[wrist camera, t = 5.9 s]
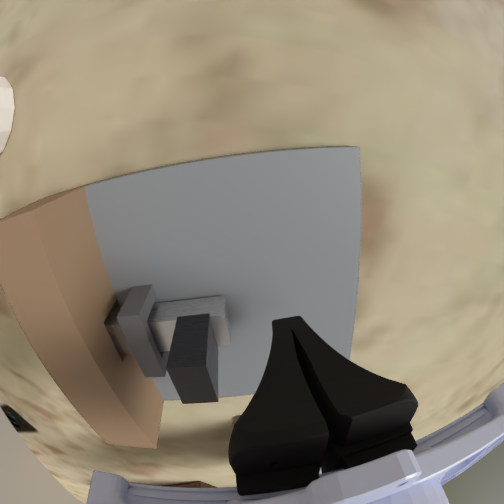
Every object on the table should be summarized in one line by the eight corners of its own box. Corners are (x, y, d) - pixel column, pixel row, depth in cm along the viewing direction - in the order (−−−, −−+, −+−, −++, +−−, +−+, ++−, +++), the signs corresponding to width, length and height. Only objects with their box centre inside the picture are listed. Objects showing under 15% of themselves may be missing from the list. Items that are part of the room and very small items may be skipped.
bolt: (223, 292, 15) (224, 363, 10) (230, 327, 16) (234, 400, 11) (69, 307, 14) (30, 363, 9) (83, 337, 15) (53, 395, 10)
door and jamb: (347, 145, 14) (412, 154, 8) (340, 362, 20) (366, 421, 15) (45, 197, 13) (-19, 229, 8) (123, 386, 20) (106, 443, 14)
